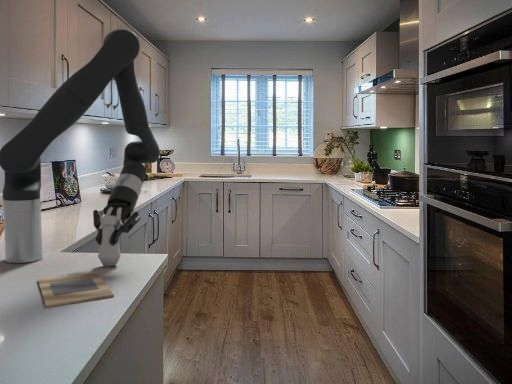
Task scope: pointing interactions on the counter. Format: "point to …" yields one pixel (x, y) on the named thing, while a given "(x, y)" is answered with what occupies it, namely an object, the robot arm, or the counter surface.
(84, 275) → the wooden board
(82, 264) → the counter surface
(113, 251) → the salt shaker
